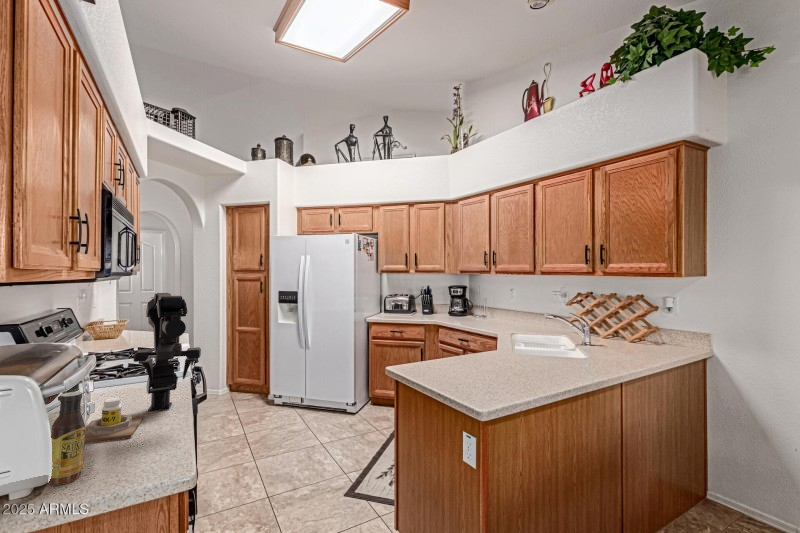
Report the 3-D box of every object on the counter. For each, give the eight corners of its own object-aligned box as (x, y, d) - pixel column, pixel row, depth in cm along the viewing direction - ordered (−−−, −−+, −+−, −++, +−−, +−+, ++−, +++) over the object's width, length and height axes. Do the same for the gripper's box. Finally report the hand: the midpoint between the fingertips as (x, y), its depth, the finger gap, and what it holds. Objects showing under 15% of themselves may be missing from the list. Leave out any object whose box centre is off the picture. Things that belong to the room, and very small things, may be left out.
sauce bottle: (61, 488, 85) (65, 399, 86) (39, 485, 86) (43, 397, 87) (90, 474, 92) (93, 391, 92) (69, 470, 93) (73, 389, 93)
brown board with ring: (91, 424, 121) (92, 414, 121) (143, 418, 126) (144, 409, 126) (70, 445, 106) (71, 434, 106) (130, 438, 112) (130, 427, 112)
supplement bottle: (97, 431, 113) (99, 402, 114) (105, 425, 118) (106, 397, 118) (116, 429, 115) (117, 401, 115) (123, 423, 119) (124, 396, 119)
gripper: (129, 338, 116) (127, 389, 115) (198, 336, 123) (196, 384, 123) (139, 332, 126) (137, 380, 126) (202, 331, 133) (200, 375, 133)
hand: (167, 380), depth 126 cm, fingers open, 9 cm apart
